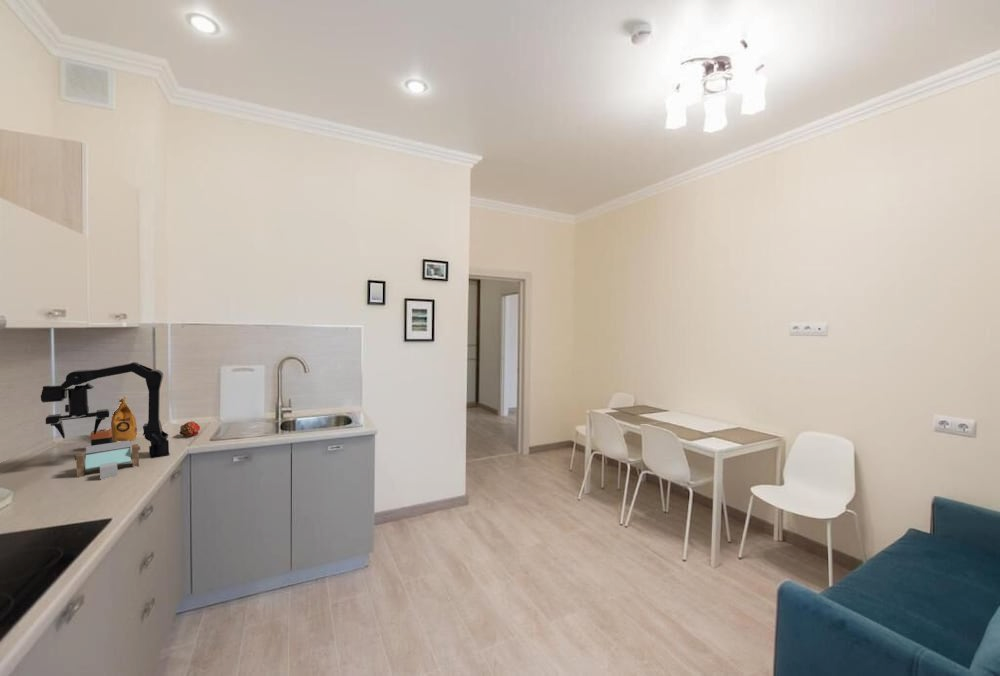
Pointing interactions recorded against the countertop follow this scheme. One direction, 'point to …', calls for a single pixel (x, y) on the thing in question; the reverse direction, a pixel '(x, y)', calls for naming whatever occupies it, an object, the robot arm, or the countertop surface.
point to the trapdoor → (108, 454)
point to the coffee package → (123, 423)
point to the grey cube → (108, 470)
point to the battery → (101, 437)
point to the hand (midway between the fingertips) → (79, 436)
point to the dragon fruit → (189, 429)
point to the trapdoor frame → (81, 463)
